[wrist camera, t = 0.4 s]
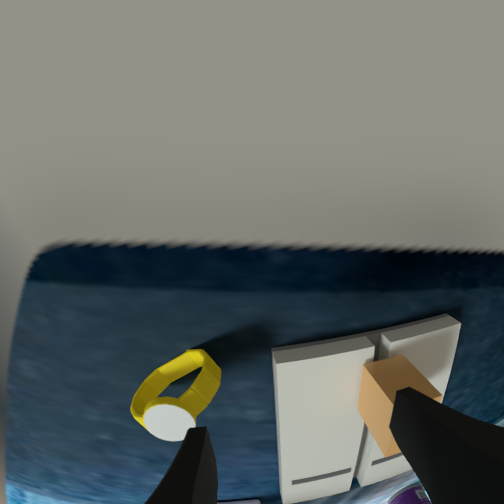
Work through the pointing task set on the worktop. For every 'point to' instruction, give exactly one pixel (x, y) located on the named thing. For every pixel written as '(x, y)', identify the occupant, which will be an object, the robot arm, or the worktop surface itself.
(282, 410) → the fader console
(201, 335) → the worktop surface
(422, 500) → the container
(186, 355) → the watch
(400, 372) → the fader tab
